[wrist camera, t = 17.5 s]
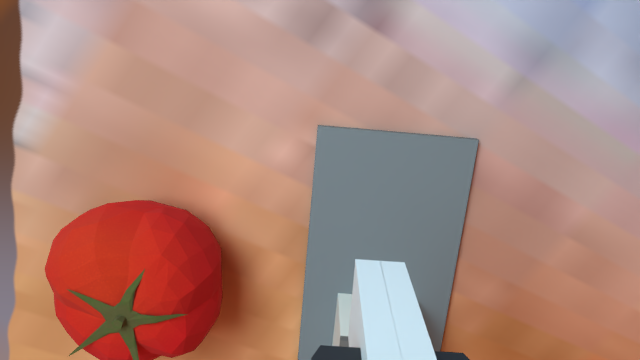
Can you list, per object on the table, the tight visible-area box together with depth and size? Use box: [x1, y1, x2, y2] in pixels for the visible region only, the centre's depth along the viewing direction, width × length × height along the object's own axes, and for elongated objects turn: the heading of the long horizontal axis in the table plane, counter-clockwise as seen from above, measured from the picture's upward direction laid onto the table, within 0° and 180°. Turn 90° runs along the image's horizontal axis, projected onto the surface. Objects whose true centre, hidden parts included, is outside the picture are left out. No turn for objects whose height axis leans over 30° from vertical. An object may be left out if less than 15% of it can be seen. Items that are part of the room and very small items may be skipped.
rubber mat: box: [298, 125, 479, 360], centre depth 43 cm, size 13×28×1 cm, turn 175°
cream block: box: [332, 293, 352, 347], centre depth 41 cm, size 7×7×7 cm
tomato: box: [45, 200, 222, 360], centre depth 37 cm, size 12×13×12 cm
